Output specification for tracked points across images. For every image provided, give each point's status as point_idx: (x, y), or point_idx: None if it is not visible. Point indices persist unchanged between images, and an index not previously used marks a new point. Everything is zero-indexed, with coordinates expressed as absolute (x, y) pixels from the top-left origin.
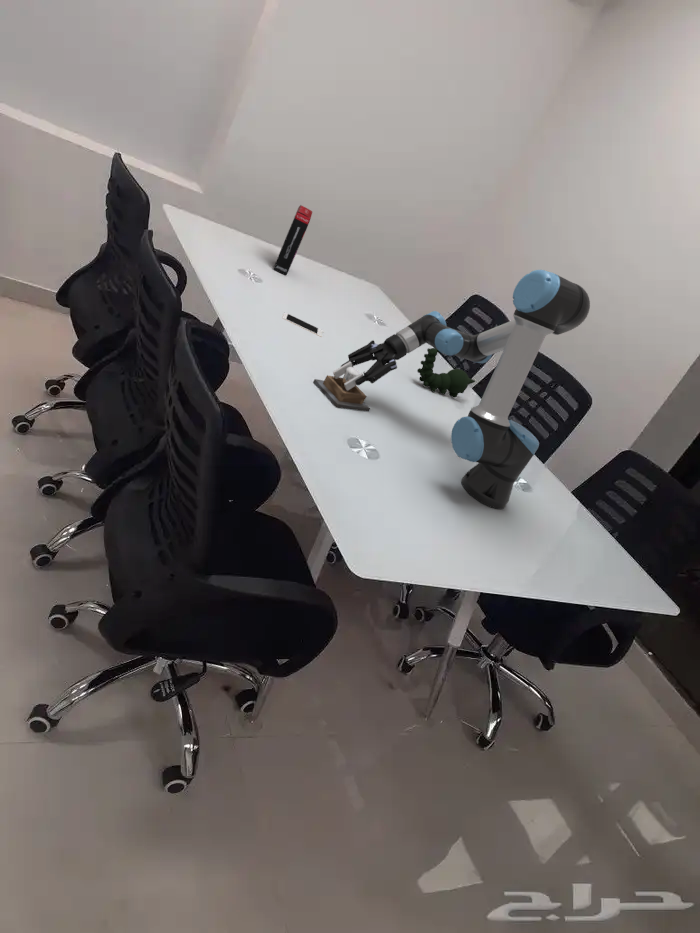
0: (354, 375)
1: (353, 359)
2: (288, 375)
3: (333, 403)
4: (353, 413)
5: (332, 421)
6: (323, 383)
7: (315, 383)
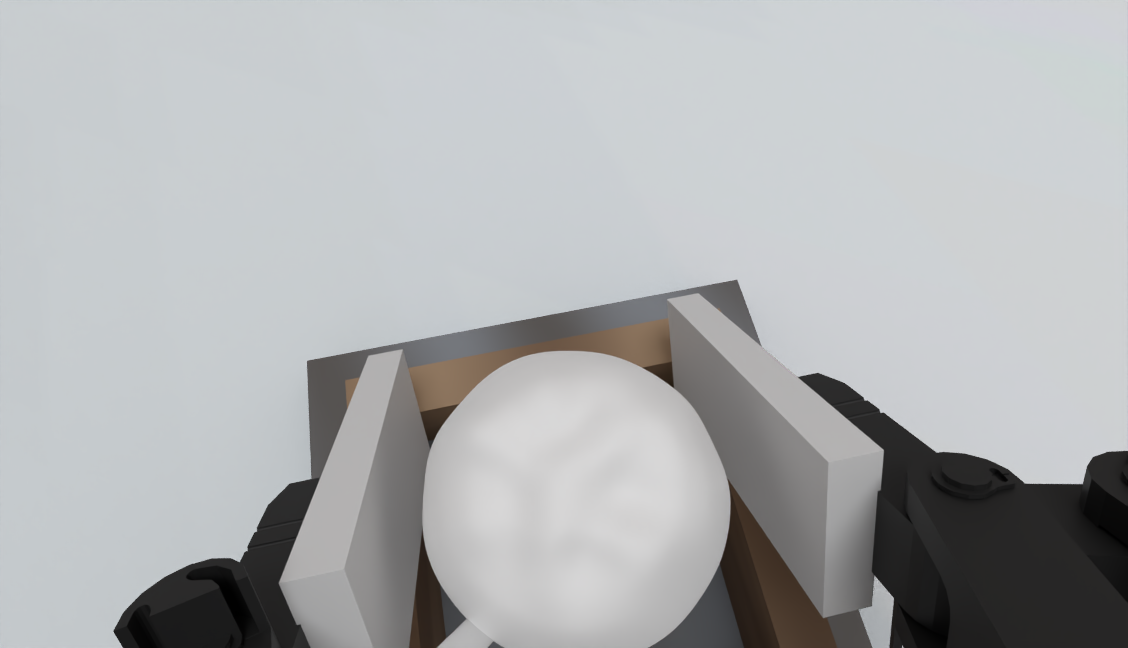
0: (429, 459)
1: (962, 525)
2: (707, 102)
3: None
4: None
5: (80, 238)
6: None
7: None
